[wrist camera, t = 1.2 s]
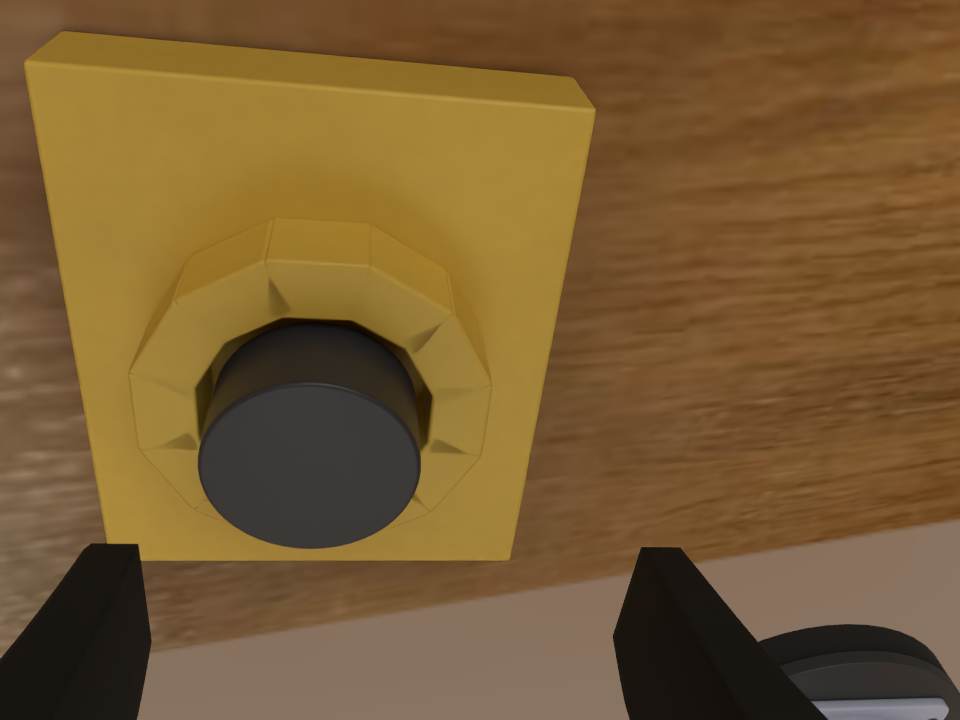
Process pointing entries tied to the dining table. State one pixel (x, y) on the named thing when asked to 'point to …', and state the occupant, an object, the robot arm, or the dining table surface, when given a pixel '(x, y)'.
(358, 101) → the block
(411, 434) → the button
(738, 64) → the dining table surface
